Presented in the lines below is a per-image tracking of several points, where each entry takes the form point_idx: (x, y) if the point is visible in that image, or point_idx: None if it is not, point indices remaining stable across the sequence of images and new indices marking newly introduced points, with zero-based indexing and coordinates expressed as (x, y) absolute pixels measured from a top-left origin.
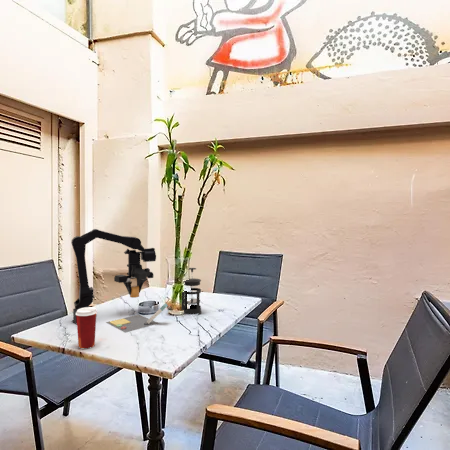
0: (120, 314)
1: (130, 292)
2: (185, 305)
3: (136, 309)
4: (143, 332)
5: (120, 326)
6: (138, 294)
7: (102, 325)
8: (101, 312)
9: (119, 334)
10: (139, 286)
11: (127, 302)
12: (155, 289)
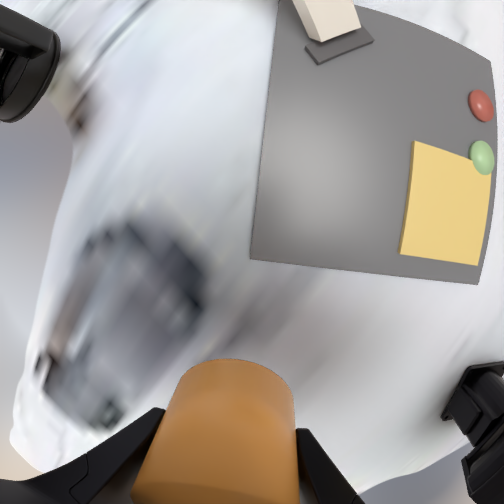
0: (306, 379)
1: (316, 449)
2: (20, 43)
3: (171, 383)
4: (413, 3)
5: (481, 142)
6: (198, 382)
7: (488, 274)
8: (338, 453)
9: (500, 88)
10: (122, 480)
11: None
12: (26, 454)
